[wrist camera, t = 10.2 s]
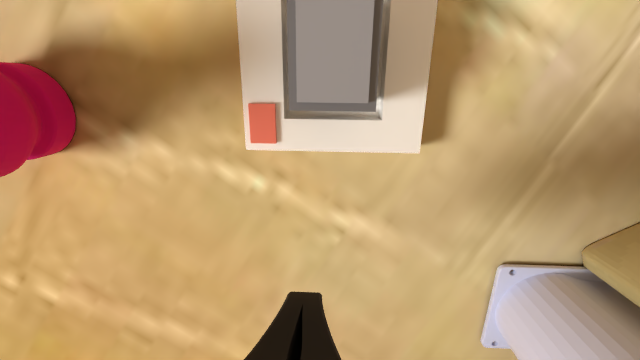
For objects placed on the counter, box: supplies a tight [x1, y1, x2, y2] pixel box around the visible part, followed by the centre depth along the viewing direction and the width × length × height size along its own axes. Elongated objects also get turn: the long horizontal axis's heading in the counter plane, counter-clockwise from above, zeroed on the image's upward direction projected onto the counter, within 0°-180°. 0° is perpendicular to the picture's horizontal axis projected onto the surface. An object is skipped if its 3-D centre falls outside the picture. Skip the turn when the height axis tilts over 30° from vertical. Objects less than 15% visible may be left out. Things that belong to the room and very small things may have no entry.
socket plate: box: [236, 0, 438, 153], centre depth 18 cm, size 11×11×2 cm
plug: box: [287, 0, 383, 112], centre depth 16 cm, size 4×5×6 cm
